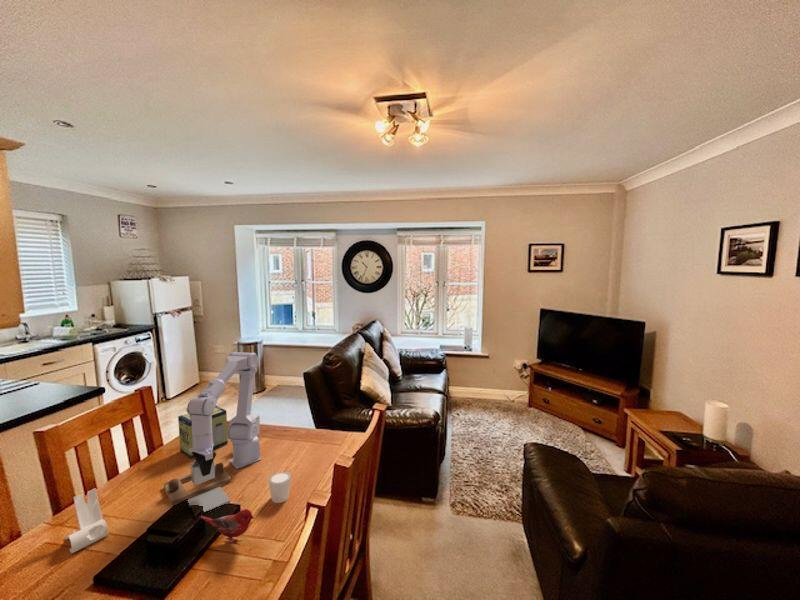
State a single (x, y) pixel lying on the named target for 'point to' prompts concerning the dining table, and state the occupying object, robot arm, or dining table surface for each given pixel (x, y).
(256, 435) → the skincare box
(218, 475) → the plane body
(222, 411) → the protein box
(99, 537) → the plastic part
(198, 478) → the lever cap
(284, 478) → the white cylinder
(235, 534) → the decorative bird figurine
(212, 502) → the grey square tile
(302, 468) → the dining table surface
